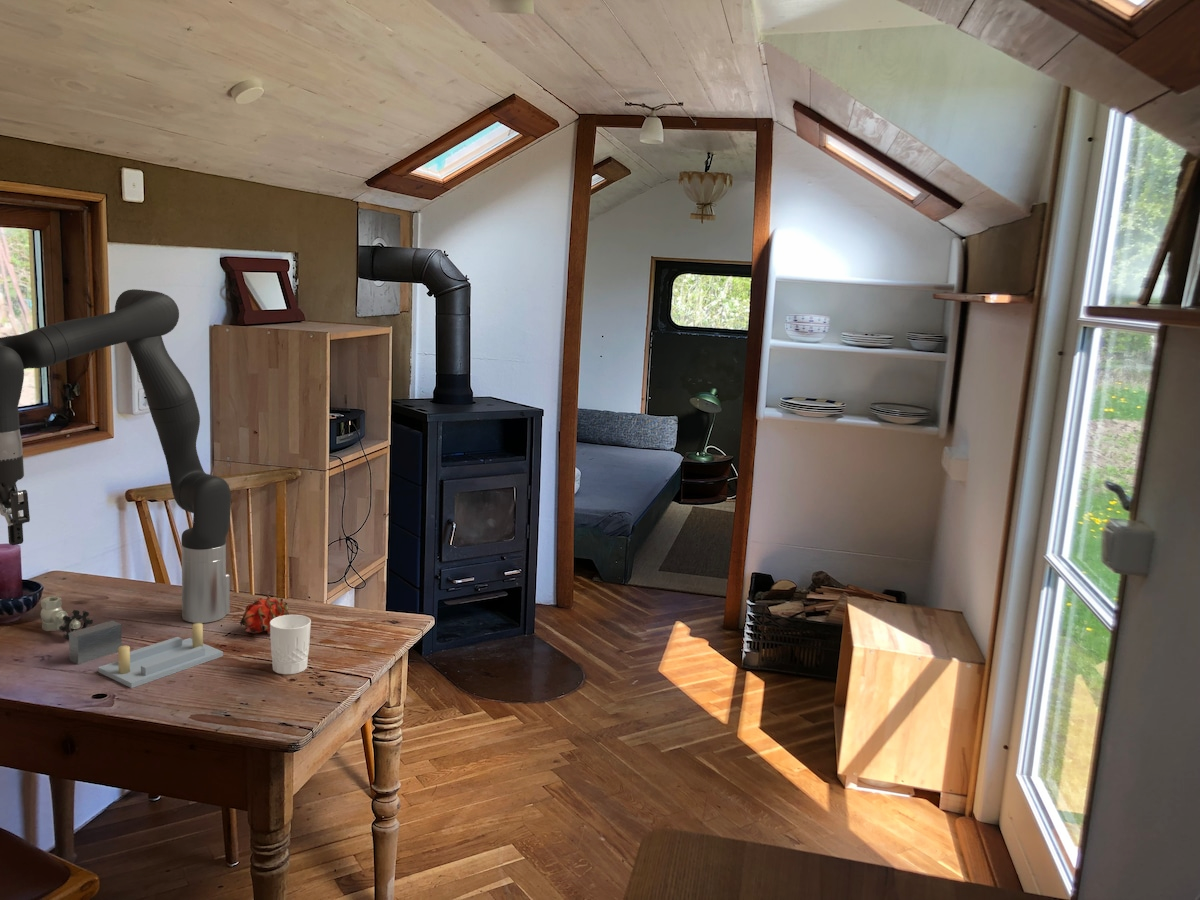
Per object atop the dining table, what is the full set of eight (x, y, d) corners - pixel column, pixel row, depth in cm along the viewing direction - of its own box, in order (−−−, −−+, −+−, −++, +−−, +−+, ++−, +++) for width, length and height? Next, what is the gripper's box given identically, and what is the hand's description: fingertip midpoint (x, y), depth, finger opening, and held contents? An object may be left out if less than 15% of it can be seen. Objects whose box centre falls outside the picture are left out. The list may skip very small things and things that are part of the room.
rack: (189, 642, 200) (189, 615, 199) (223, 656, 194) (222, 628, 193) (98, 672, 183) (97, 643, 182) (131, 688, 177) (131, 658, 176)
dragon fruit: (293, 631, 213) (245, 652, 205) (273, 603, 216) (225, 623, 207) (302, 610, 208) (253, 631, 199) (282, 581, 211) (233, 600, 202)
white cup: (268, 662, 193) (268, 616, 191) (307, 658, 196) (308, 613, 194) (270, 678, 186) (271, 630, 184) (312, 673, 189) (313, 627, 187)
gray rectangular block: (113, 647, 195) (112, 620, 193) (121, 651, 193) (121, 623, 192) (69, 660, 187) (68, 632, 186) (78, 665, 185) (77, 636, 184)
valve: (31, 630, 200) (62, 644, 194) (30, 600, 199) (61, 614, 193) (62, 621, 206) (93, 635, 200) (61, 593, 205) (92, 606, 198)
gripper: (41, 457, 170) (45, 543, 173) (0, 445, 177) (5, 527, 180) (-4, 463, 164) (2, 552, 167) (-44, 450, 171) (-38, 536, 174)
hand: (4, 539), depth 173 cm, fingers open, 8 cm apart
